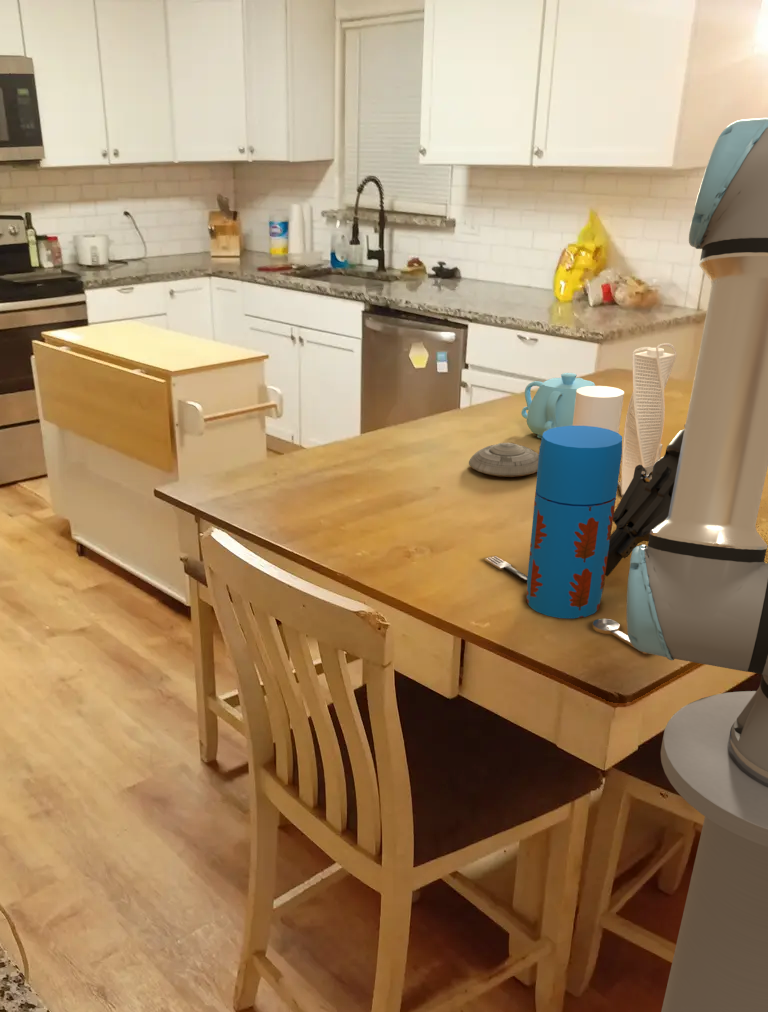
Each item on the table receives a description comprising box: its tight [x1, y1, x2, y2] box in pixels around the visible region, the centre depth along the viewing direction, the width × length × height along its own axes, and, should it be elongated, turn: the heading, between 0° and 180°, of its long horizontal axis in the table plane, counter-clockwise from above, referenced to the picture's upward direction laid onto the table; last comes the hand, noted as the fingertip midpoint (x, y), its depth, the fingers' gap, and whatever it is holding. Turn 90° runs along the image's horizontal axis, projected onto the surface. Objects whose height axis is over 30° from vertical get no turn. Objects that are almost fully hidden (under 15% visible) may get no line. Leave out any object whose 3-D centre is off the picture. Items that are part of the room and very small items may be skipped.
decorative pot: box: [521, 372, 596, 439], centre depth 209 cm, size 16×16×14 cm
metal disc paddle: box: [592, 618, 649, 655], centre depth 130 cm, size 10×4×1 cm, turn 25°
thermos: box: [526, 426, 623, 619], centre depth 134 cm, size 11×11×25 cm
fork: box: [484, 555, 528, 584], centre depth 150 cm, size 10×2×1 cm, turn 25°
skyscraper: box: [617, 342, 678, 498], centre depth 172 cm, size 8×8×28 cm
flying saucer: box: [468, 442, 539, 478], centre depth 191 cm, size 15×15×6 cm
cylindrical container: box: [573, 385, 625, 434], centre depth 154 cm, size 7×7×25 cm
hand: (599, 570), depth 141 cm, fingers closed
